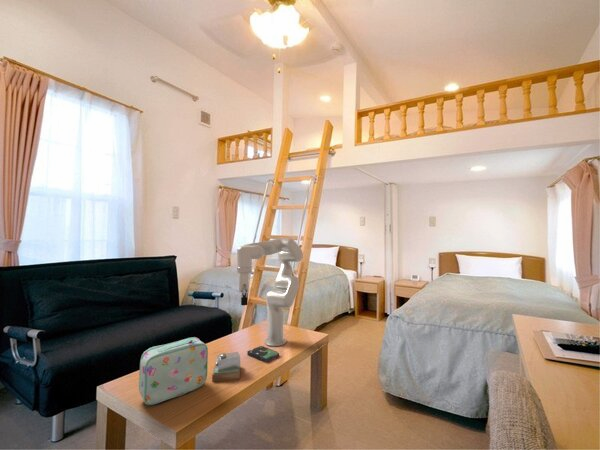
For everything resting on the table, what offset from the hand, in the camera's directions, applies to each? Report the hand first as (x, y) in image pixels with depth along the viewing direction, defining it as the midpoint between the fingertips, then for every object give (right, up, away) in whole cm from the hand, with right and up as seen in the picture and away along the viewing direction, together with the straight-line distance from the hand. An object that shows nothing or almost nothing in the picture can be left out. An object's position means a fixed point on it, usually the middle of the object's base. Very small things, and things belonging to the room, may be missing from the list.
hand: (244, 302), depth 149 cm
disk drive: (+9, -31, +6) cm, 33 cm away
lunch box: (-23, -30, -29) cm, 48 cm away
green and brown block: (-6, -30, -14) cm, 34 cm away
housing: (-5, -27, -14) cm, 30 cm away
